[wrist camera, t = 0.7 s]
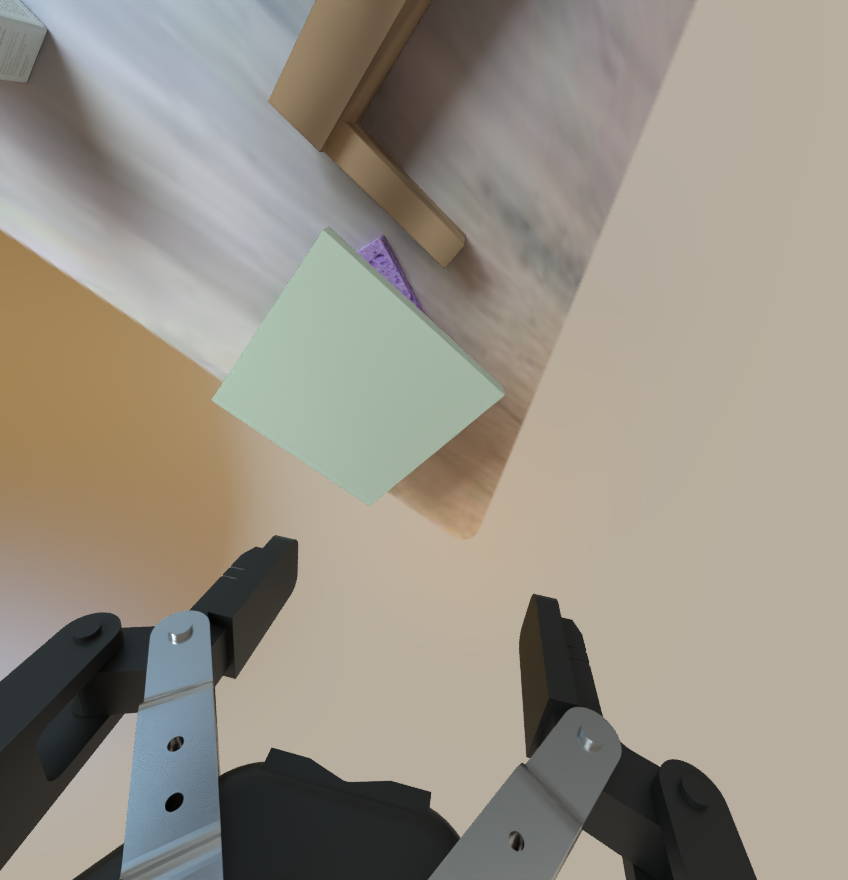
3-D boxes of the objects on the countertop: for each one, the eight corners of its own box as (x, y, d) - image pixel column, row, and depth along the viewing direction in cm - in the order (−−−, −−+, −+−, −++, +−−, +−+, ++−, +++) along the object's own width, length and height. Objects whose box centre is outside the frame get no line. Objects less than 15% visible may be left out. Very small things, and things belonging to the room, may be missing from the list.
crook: (298, 109, 27) (267, 101, 23) (536, -354, 17) (556, -511, 13) (447, 256, 31) (443, 271, 27) (704, -46, 21) (758, -91, 17)
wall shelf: (259, 355, 38) (208, 404, 30) (359, 210, 30) (323, 229, 23) (384, 447, 43) (365, 509, 35) (498, 344, 35) (504, 395, 28)
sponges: (384, 232, 31) (380, 236, 30) (456, 367, 37) (455, 376, 36) (313, 276, 34) (306, 282, 32) (391, 396, 40) (388, 406, 38)
